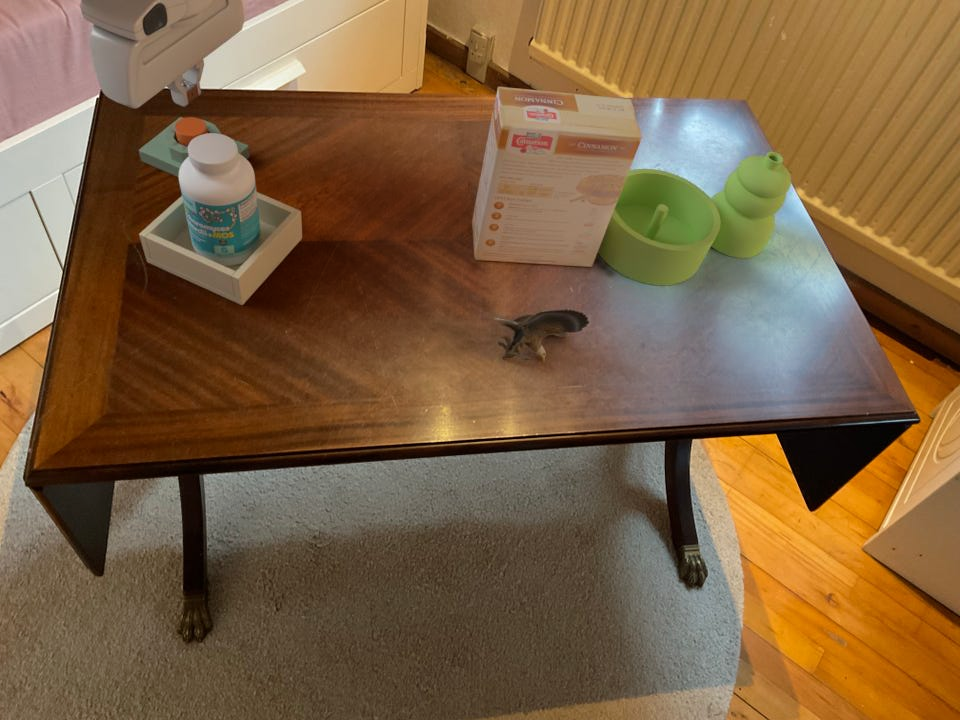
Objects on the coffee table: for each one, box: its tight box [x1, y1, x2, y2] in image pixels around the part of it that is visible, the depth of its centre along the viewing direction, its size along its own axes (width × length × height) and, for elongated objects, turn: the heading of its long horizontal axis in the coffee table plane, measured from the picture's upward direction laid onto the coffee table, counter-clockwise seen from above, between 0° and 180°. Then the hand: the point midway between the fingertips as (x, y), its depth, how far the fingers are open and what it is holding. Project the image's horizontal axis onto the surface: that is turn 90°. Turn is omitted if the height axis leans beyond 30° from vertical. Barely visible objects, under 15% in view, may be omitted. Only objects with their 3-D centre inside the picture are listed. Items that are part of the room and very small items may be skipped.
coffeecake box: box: [471, 86, 643, 268], centre depth 85 cm, size 15×7×20 cm, turn 93°
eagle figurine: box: [493, 309, 590, 362], centre depth 80 cm, size 8×7×9 cm
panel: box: [138, 116, 251, 178], centre depth 91 cm, size 10×8×4 cm
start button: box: [175, 116, 208, 146], centre depth 89 cm, size 4×4×2 cm
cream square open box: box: [138, 191, 303, 306], centre depth 82 cm, size 12×12×4 cm
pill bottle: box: [178, 133, 261, 266], centre depth 78 cm, size 8×7×14 cm
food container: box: [597, 151, 792, 286], centre depth 92 cm, size 25×14×13 cm, turn 108°
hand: (187, 98), depth 85 cm, fingers closed
